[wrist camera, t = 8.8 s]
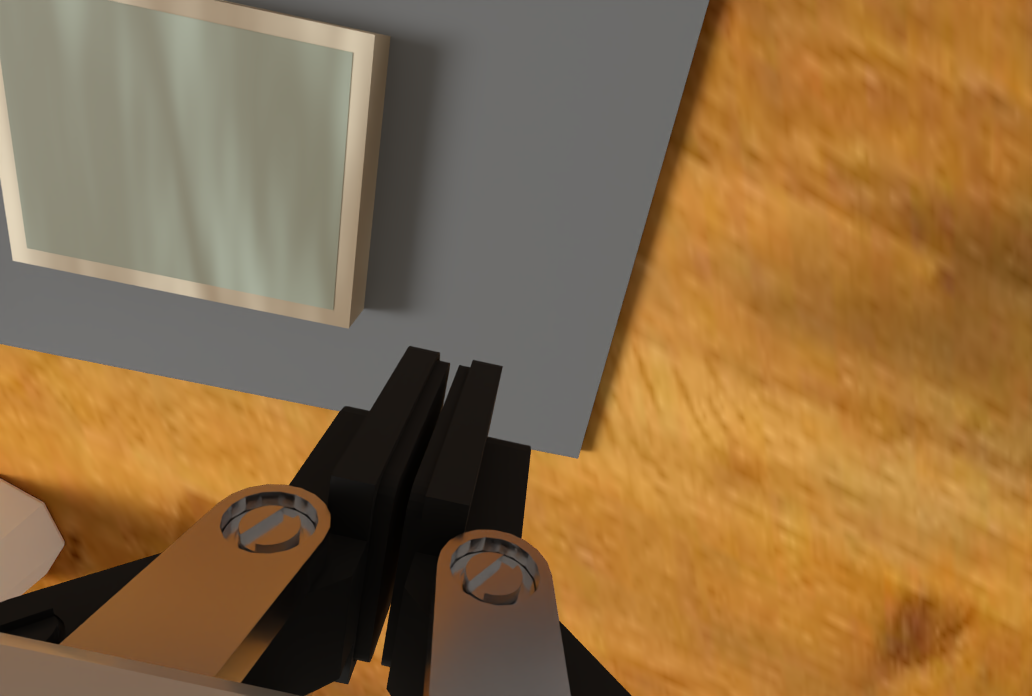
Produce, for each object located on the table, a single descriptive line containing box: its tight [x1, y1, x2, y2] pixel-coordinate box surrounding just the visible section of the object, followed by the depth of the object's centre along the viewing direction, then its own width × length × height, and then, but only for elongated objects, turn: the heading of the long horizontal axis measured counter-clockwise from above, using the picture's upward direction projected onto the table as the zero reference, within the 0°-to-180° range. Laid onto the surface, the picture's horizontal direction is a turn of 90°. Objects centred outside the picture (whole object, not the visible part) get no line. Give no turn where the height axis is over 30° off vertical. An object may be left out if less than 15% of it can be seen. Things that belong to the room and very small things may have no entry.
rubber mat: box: [0, 0, 709, 458], centre depth 19 cm, size 24×16×1 cm, turn 79°
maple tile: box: [0, 0, 391, 329], centre depth 18 cm, size 2×8×10 cm
